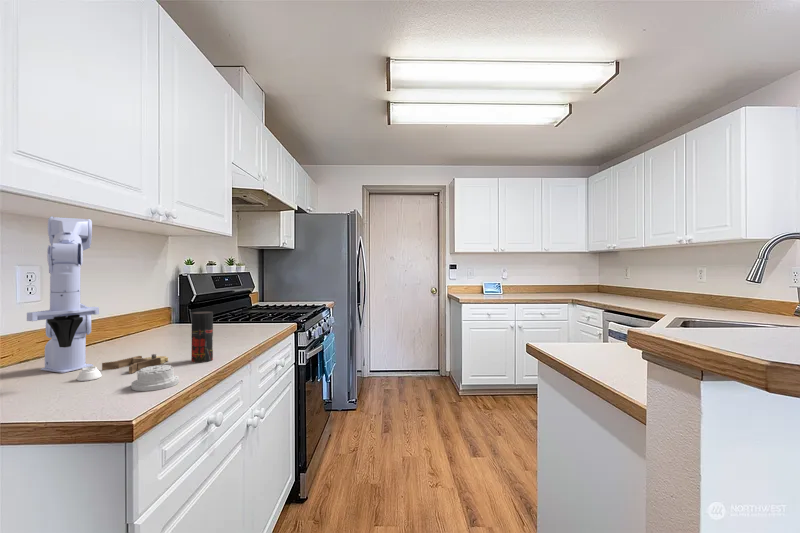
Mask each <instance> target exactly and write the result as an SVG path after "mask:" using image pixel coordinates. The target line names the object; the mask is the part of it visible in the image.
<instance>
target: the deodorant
mask: <svg viewBox="0 0 800 533" xmlns="http://www.w3.org/2000/svg"><path fill="white" fill-rule="evenodd" d="M213 360H214V311H194V312H191V362H192V363H195V364H202V363H208V362H211V361H213Z"/></svg>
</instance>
